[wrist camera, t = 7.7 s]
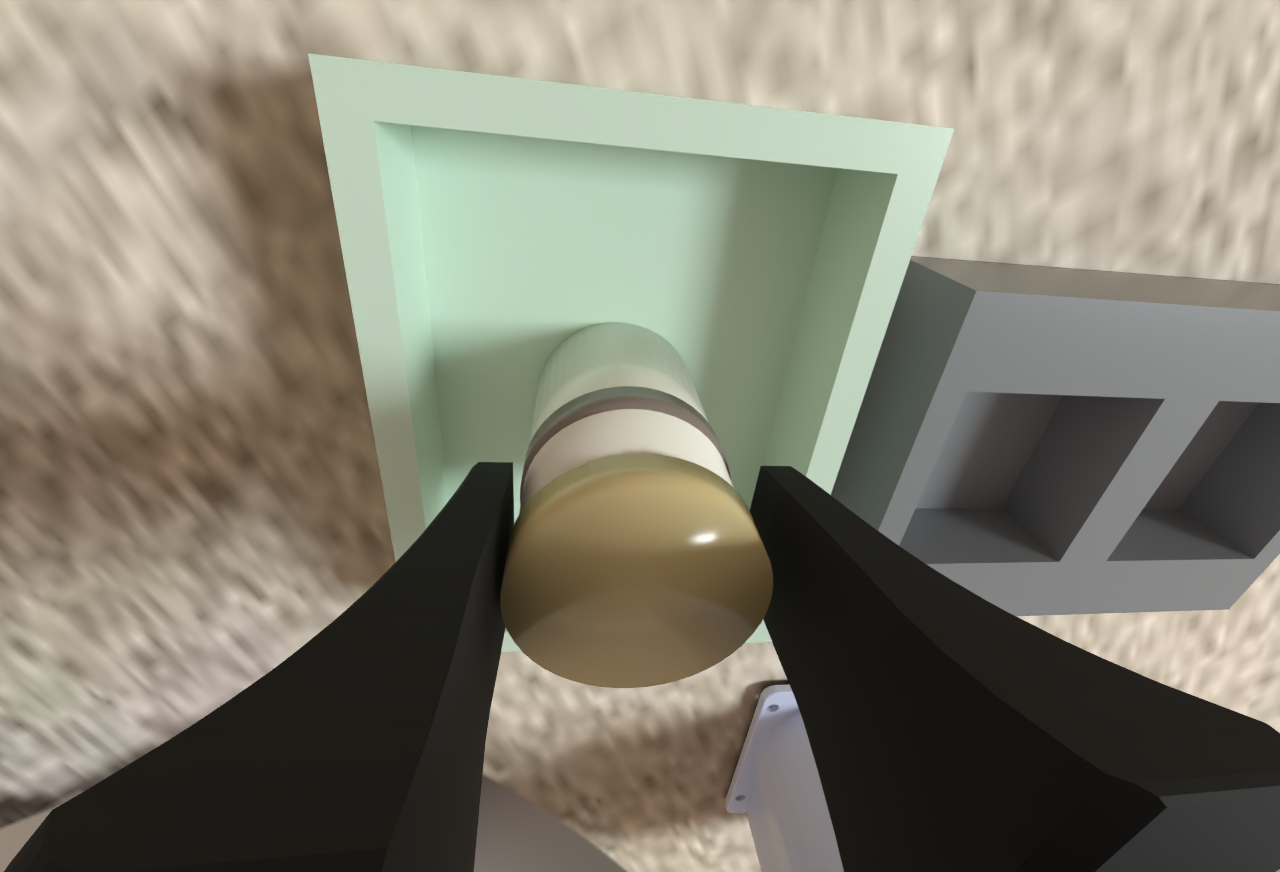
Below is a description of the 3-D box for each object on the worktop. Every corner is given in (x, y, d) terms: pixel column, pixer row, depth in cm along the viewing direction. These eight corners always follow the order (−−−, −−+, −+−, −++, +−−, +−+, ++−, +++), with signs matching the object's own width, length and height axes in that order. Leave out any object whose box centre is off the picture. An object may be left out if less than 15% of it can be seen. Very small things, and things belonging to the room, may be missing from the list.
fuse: (686, 463, 16) (749, 682, 10) (536, 462, 15) (508, 693, 9) (704, 320, 14) (798, 493, 8) (530, 315, 13) (490, 494, 7)
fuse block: (1149, 548, 21) (1228, 609, 19) (804, 551, 19) (840, 621, 17) (1342, 289, 16) (1487, 325, 14) (901, 255, 14) (976, 290, 12)
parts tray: (752, 569, 19) (781, 641, 17) (432, 575, 18) (411, 655, 15) (873, 121, 12) (954, 128, 10) (367, 63, 11) (308, 53, 8)
